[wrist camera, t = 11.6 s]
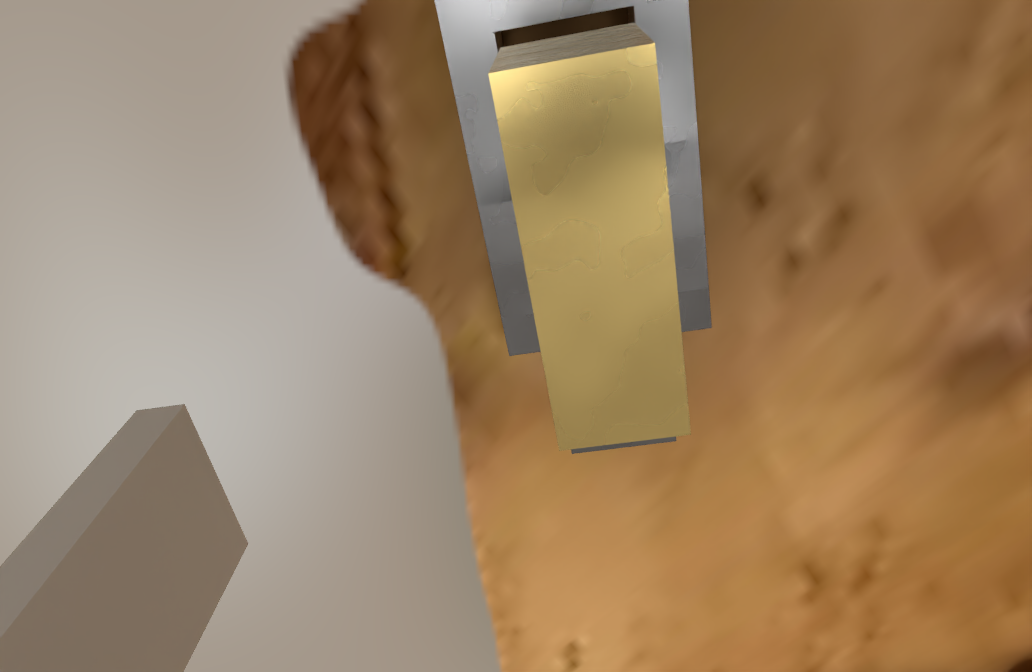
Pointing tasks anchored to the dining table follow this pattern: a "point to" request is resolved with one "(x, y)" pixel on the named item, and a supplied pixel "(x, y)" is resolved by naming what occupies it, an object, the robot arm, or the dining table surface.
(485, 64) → the chain joint
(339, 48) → the dining table surface
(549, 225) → the tan piece
